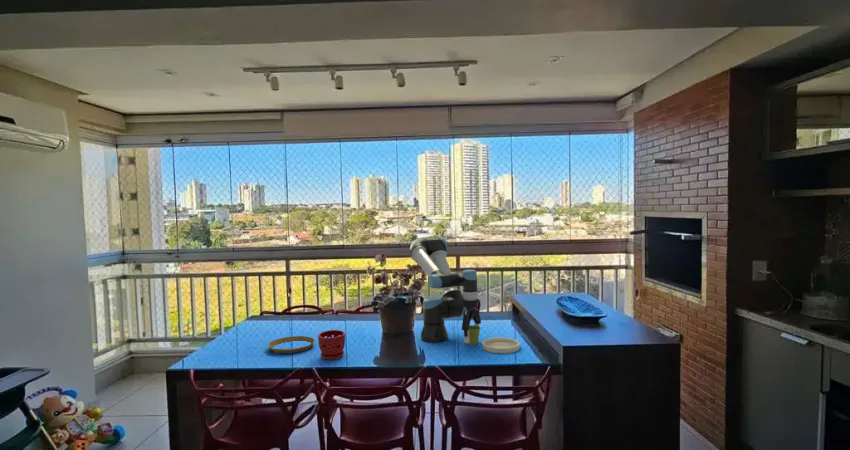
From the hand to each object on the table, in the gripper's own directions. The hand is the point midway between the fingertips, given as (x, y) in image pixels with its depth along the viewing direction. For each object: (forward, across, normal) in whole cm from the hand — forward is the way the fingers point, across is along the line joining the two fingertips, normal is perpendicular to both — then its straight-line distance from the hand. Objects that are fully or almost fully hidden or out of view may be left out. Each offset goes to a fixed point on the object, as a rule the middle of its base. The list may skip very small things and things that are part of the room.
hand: (472, 339), depth 234 cm
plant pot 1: (+3, -47, +55) cm, 72 cm away
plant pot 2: (+3, 0, 0) cm, 3 cm away
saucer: (+3, 0, -16) cm, 16 cm away
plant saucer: (+2, -44, +86) cm, 97 cm away
